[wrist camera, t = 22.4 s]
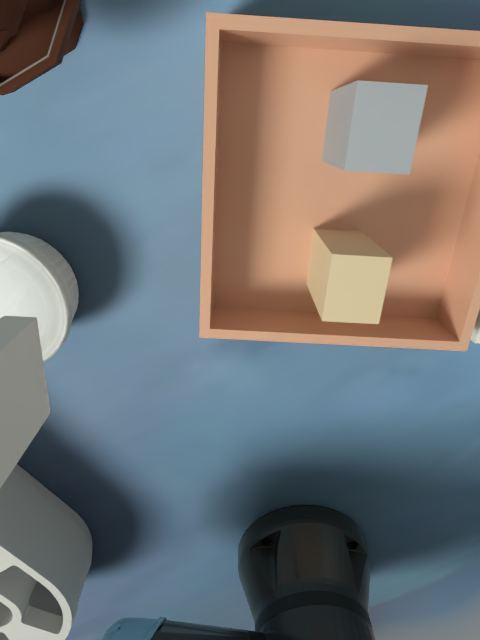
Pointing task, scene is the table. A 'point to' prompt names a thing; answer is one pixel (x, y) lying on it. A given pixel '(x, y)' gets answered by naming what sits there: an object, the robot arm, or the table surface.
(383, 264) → the tall cardboard carton
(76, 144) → the table surface
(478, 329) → the parts tray
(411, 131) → the pale grey box block
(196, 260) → the table surface
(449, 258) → the orange square tray
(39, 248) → the ramekin
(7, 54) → the ice cream bowl
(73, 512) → the grey compartment organizer
